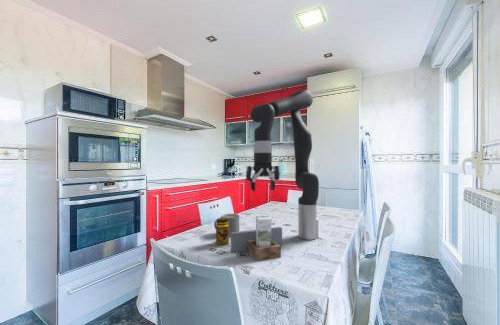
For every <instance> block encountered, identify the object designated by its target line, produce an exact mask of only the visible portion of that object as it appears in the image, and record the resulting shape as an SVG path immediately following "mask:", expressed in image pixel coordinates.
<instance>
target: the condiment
mask: <svg viewBox="0 0 500 325" xmlns="http://www.w3.org/2000/svg"><path fill="white" fill-rule="evenodd" d="M215 239H216V240H215V241H213V242H211V243H210V245H212V246H215V247H220V248H225V247H227V246H230V245H231V241H230V237H229V224H228V219H227V218H221V217H219V218H217V224H216V229H215Z"/></svg>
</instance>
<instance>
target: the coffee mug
mask: <svg viewBox="0 0 500 325" xmlns="http://www.w3.org/2000/svg"><path fill="white" fill-rule="evenodd" d="M220 218H227V219H228V224H229V238H231V232H239V231H240V215H239V214H238V213H224V214H222V215H220ZM217 219H218V218H217ZM217 219H215V220H214V222H213V227H214V230H216V225H217Z"/></svg>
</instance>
